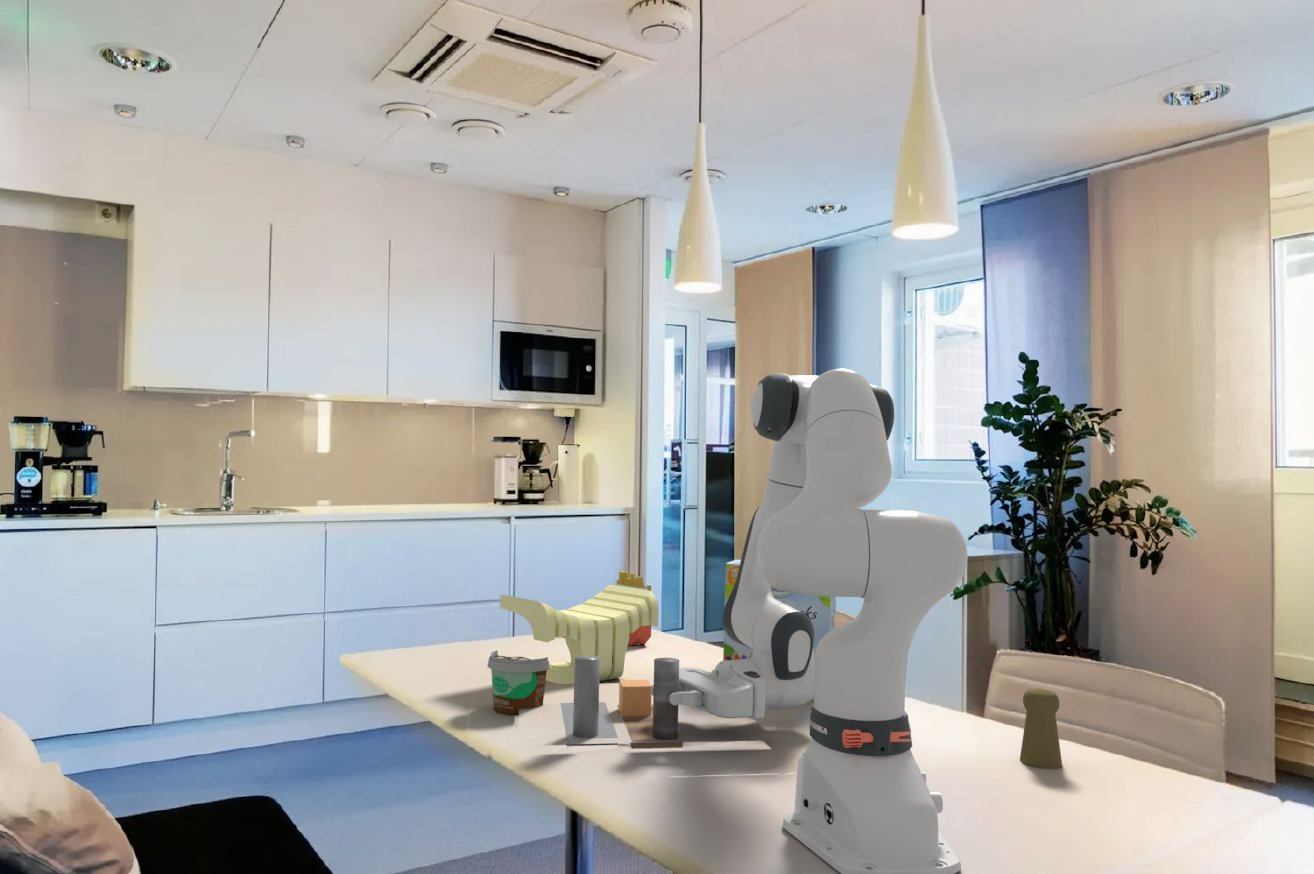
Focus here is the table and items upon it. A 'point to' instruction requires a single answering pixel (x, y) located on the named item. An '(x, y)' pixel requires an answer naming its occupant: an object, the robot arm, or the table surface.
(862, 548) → the robot arm
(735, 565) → the snack box
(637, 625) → the slatted curved stool
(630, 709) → the terracotta block
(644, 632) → the french fries container
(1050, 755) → the olive green pawn
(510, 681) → the food container
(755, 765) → the table surface
